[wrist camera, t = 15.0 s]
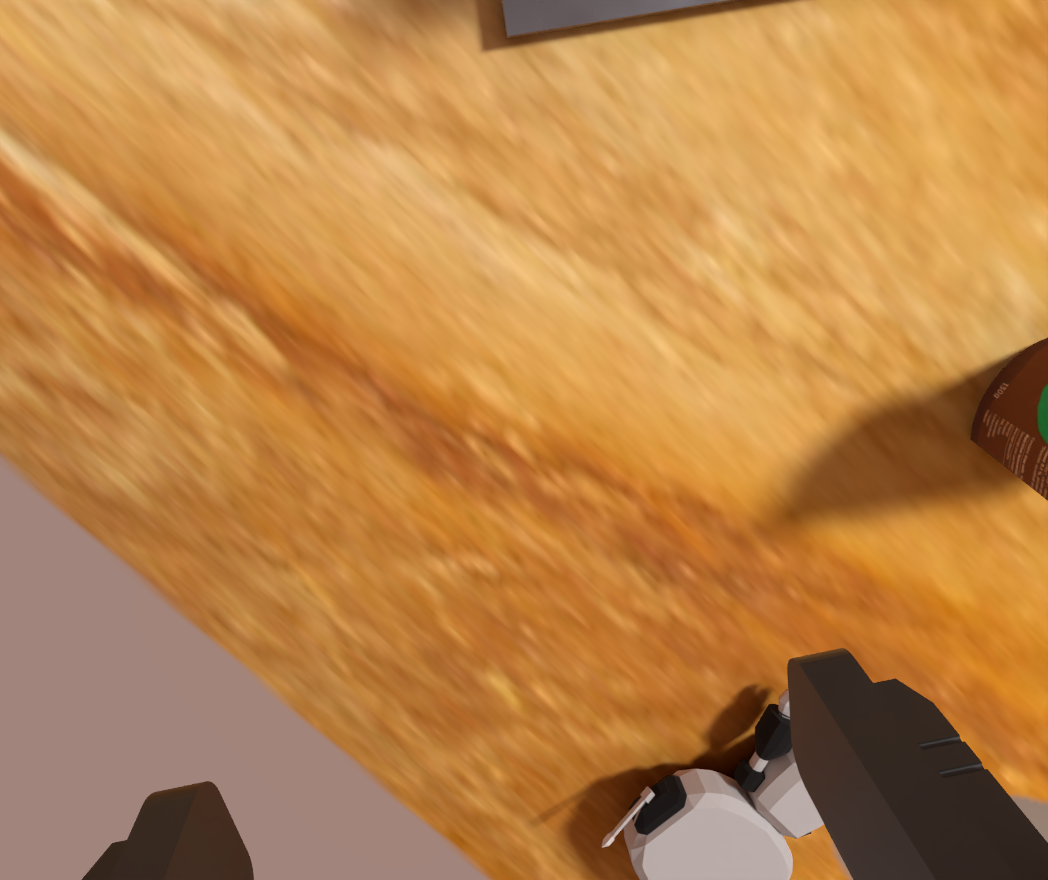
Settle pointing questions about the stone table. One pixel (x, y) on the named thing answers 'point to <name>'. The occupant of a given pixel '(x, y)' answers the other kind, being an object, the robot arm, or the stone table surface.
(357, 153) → the stone table surface
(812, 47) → the stone table surface
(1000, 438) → the food container
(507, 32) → the plate
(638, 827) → the robot toy
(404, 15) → the stone table surface
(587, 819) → the stone table surface
